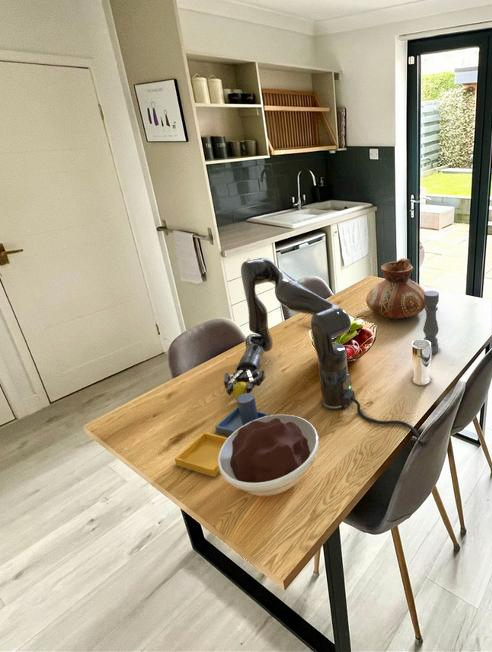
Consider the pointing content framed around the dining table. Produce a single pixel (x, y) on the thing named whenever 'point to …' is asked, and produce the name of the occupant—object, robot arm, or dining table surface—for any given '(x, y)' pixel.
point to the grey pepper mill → (431, 319)
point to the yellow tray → (202, 454)
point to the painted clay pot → (396, 292)
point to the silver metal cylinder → (421, 361)
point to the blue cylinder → (247, 408)
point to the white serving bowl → (268, 454)
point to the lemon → (239, 389)
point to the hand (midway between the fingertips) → (238, 391)
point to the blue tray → (233, 422)
